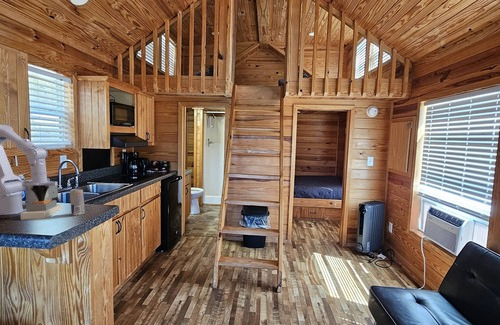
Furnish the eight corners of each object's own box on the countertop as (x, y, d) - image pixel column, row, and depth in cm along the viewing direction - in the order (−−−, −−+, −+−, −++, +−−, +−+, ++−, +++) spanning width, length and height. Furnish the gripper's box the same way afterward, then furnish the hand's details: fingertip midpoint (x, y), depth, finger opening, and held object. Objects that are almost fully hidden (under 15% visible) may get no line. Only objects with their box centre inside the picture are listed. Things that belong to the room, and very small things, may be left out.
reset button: (32, 207, 124) (32, 202, 124) (39, 204, 129) (39, 199, 129) (44, 207, 125) (43, 202, 124) (50, 204, 130) (50, 199, 129)
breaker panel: (20, 219, 120) (19, 206, 119) (41, 210, 134) (39, 199, 133) (44, 218, 121) (43, 206, 120) (62, 209, 135) (61, 198, 134)
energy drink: (75, 212, 130) (73, 189, 129) (86, 212, 130) (85, 188, 129) (69, 216, 125) (67, 191, 123) (81, 215, 125) (79, 191, 124)
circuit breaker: (61, 202, 150) (58, 176, 149) (38, 209, 136) (36, 181, 135) (49, 202, 151) (46, 176, 150) (25, 209, 137) (22, 180, 135)
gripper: (15, 174, 120) (18, 203, 122) (50, 174, 122) (52, 202, 124) (26, 172, 127) (29, 200, 129) (59, 171, 129) (61, 198, 130)
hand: (41, 201), depth 127 cm, fingers closed, pressing on reset button
